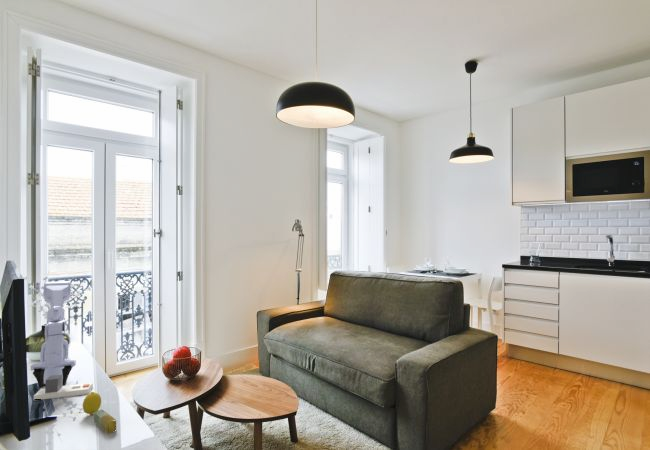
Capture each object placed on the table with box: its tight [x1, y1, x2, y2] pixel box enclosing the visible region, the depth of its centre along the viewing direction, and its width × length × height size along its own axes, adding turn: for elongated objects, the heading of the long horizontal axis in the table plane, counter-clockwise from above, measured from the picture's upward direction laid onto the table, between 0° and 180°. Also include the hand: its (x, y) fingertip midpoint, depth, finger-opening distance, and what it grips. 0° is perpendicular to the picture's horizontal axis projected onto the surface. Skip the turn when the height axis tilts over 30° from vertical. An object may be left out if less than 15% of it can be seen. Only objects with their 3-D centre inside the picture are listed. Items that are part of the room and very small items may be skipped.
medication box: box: [93, 408, 117, 435], centre depth 119 cm, size 12×3×4 cm, turn 52°
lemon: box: [82, 391, 102, 416], centre depth 127 cm, size 6×6×8 cm
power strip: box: [33, 382, 94, 400], centre depth 144 cm, size 7×18×4 cm, turn 110°
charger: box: [44, 375, 62, 393], centre depth 143 cm, size 5×4×7 cm
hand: (52, 386), depth 143 cm, fingers open, 7 cm apart
